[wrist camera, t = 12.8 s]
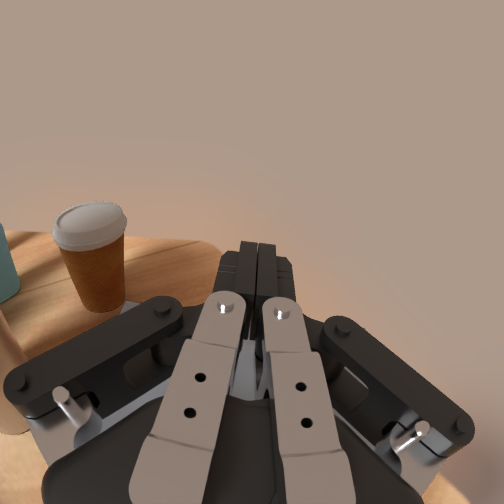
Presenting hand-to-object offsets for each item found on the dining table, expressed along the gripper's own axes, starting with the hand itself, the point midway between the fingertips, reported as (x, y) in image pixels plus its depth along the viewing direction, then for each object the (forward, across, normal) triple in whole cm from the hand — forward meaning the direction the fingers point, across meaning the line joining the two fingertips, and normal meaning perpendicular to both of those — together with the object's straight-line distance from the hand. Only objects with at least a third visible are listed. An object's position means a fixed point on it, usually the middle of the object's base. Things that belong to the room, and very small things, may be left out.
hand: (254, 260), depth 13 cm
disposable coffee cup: (+15, +19, +18) cm, 30 cm away
